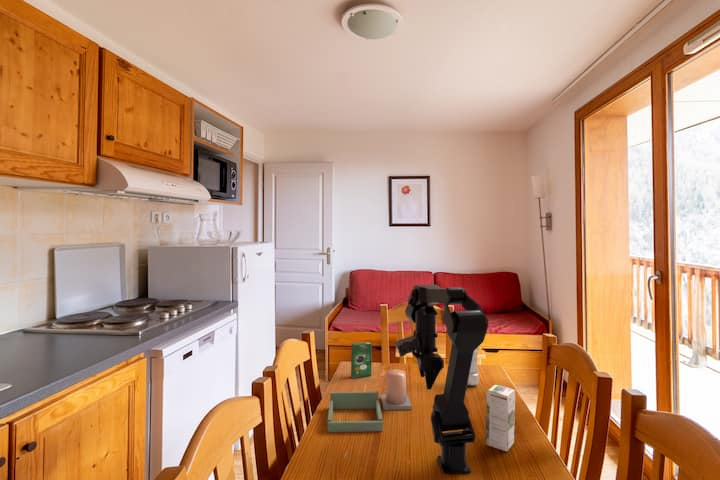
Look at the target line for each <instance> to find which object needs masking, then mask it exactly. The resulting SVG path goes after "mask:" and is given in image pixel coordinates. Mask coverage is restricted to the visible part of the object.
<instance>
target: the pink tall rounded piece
mask: <svg viewBox="0 0 720 480" xmlns="http://www.w3.org/2000/svg"><path fill="white" fill-rule="evenodd" d="M385 382H386V383H385V395H386V401H387V402H388V403H390V404H403V403H405V402H406V394H407V372H406V371H405V370H402V369H395V368H394V369H389V370H387V371H386V372H385Z"/></svg>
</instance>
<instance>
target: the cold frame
mask: <svg viewBox="0 0 720 480" xmlns="http://www.w3.org/2000/svg"><path fill="white" fill-rule="evenodd" d="M379 395H380V393H379V391H330V392H329V407H328V413H327V414H328V416H327V432H328V433H342V432H343V433H347V432H348V433H351V432H352V433H357V432H362V433H363V432H383V429H384V428H383V427H384V424H383V423H384V422H383V415H382V408H381V404H380V396H379ZM341 409H342V410H344V409H345V410H347V409H348V410H349V409H350V410H351V409H353V410H354V409H355V410H356V409H357V410H358V409H362V410H363V409H375V412H376V419H377V420H348V421H347V420H345V421H344V420H343V421H342V420H340V421H337V420H335V421H334V420H333V417H334V410H341Z"/></svg>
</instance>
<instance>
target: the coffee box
mask: <svg viewBox="0 0 720 480" xmlns="http://www.w3.org/2000/svg"><path fill="white" fill-rule="evenodd" d="M372 348H373V343H371V342H370V341H368V342H367V341H366V342H365V341H364V342H352V343H351V353H350V355H351V358H350V359H351V361H350V376H351V378H352V379H355V378H365V377H372V363H373V361H372V359H373V354H372V353H373V352H372V351H373V349H372Z"/></svg>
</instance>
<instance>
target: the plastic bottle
mask: <svg viewBox="0 0 720 480" xmlns="http://www.w3.org/2000/svg"><path fill="white" fill-rule="evenodd" d="M479 346H480V345H479ZM479 346H478V347H477V348H476V349H475V350H474V353H473V358H472V363H471V368H470V373H469V378H468V384H467V386H471V387H474V386H477V385H478V384H479V381H480V375H479V371H478V369H479V368H478V356H479V355H478V354H479Z"/></svg>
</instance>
